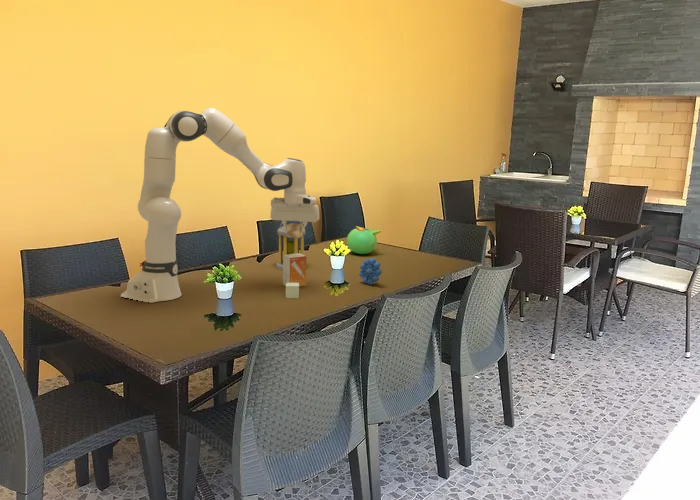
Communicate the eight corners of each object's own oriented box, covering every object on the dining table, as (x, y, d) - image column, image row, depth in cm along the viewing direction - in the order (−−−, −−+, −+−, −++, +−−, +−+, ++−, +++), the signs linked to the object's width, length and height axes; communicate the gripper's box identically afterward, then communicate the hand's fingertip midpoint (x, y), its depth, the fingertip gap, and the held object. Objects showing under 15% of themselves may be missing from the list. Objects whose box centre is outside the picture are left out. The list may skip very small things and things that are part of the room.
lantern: (306, 263, 283) (307, 213, 278) (305, 270, 269) (306, 217, 264) (277, 263, 283) (277, 212, 277) (274, 270, 269) (274, 217, 264)
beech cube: (287, 237, 238) (287, 225, 237) (290, 235, 243) (290, 223, 242) (298, 238, 237) (298, 226, 236) (302, 235, 242) (302, 224, 241)
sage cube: (285, 298, 225) (285, 286, 224) (286, 294, 230) (286, 282, 229) (298, 298, 226) (298, 286, 225) (299, 294, 230) (299, 282, 229)
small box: (289, 288, 239) (289, 257, 237) (282, 284, 244) (282, 254, 242) (306, 285, 244) (306, 255, 241) (299, 282, 249) (299, 252, 246)
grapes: (386, 285, 248) (387, 258, 245) (377, 288, 242) (378, 260, 240) (365, 280, 255) (366, 253, 252) (355, 283, 250) (356, 256, 247)
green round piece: (343, 250, 317) (343, 224, 314) (372, 249, 321) (373, 223, 318) (351, 257, 299) (351, 229, 296) (382, 256, 304) (383, 229, 301)
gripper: (268, 198, 235) (268, 231, 238) (316, 200, 232) (316, 234, 234) (273, 196, 241) (273, 229, 244) (320, 198, 238) (320, 231, 240)
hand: (294, 231), depth 239 cm, fingers closed on beech cube, 5 cm apart
